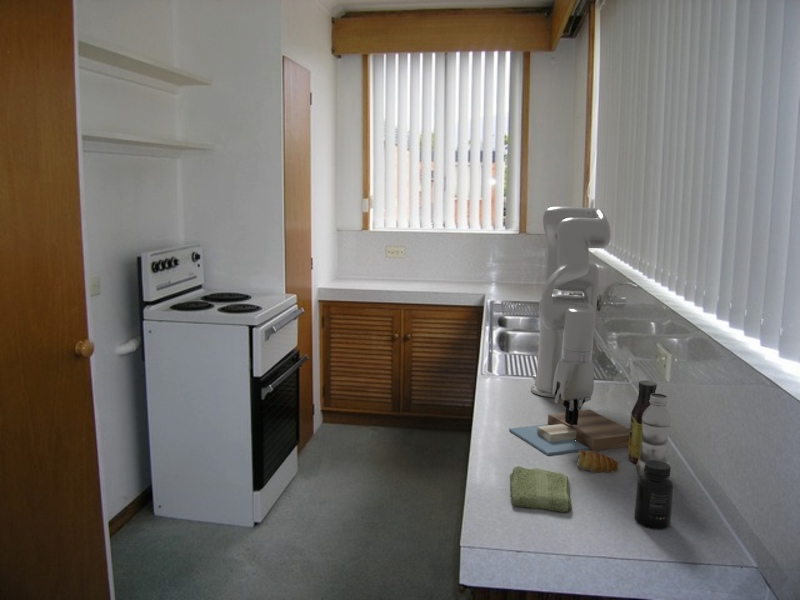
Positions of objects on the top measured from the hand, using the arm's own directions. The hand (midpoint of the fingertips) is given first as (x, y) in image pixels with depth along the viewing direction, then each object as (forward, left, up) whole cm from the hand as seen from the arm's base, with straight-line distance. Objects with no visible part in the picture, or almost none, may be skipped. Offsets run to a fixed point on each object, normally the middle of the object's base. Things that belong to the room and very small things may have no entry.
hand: (571, 423), depth 186 cm
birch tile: (0, -4, -3) cm, 5 cm away
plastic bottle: (+29, +1, -4) cm, 29 cm away
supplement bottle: (+45, -13, -4) cm, 47 cm away
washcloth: (+26, -27, -4) cm, 38 cm away
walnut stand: (0, +7, -4) cm, 8 cm away
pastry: (+18, -6, -4) cm, 20 cm away
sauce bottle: (+19, +7, -4) cm, 21 cm away
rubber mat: (0, -7, -4) cm, 8 cm away
